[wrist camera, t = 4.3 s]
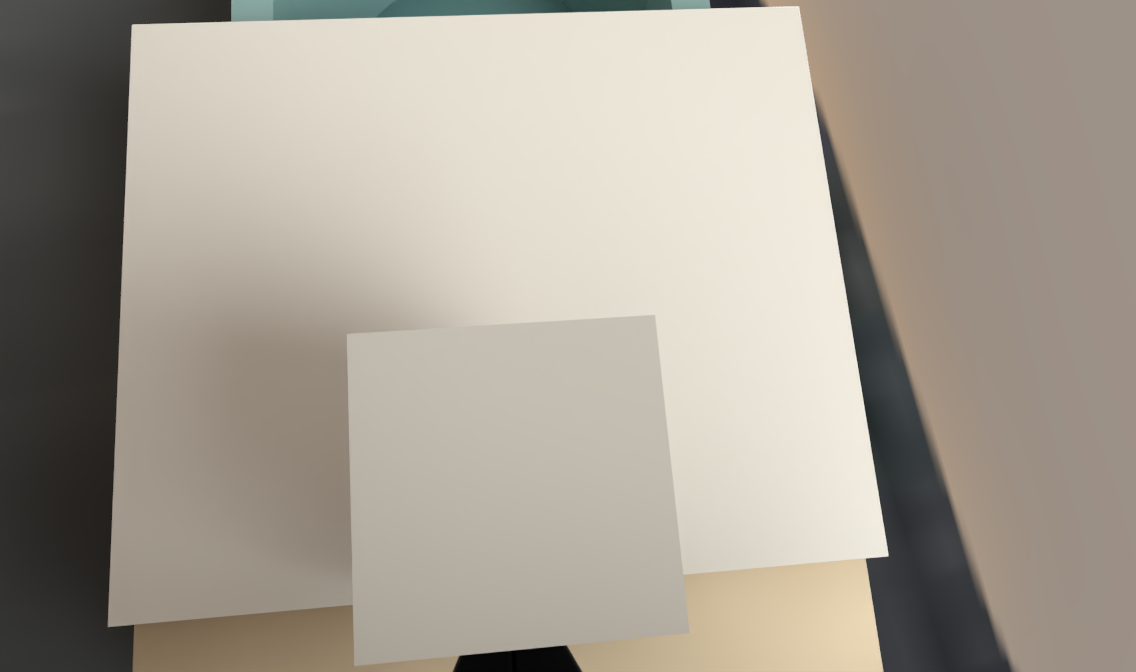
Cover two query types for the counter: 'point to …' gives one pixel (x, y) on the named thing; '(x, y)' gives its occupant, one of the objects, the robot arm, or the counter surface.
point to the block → (611, 668)
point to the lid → (479, 325)
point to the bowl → (436, 8)
